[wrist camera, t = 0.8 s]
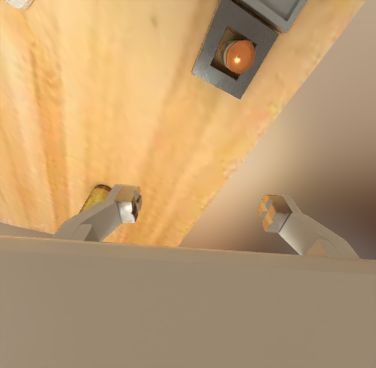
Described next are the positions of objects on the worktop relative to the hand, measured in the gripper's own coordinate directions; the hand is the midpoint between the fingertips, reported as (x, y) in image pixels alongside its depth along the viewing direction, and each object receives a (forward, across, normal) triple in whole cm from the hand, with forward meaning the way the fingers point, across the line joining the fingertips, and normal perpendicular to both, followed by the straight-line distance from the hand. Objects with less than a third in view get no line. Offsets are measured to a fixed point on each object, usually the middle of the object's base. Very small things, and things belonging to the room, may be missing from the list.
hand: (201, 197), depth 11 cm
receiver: (+33, -5, -8) cm, 35 cm away
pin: (+33, -5, -8) cm, 35 cm away
